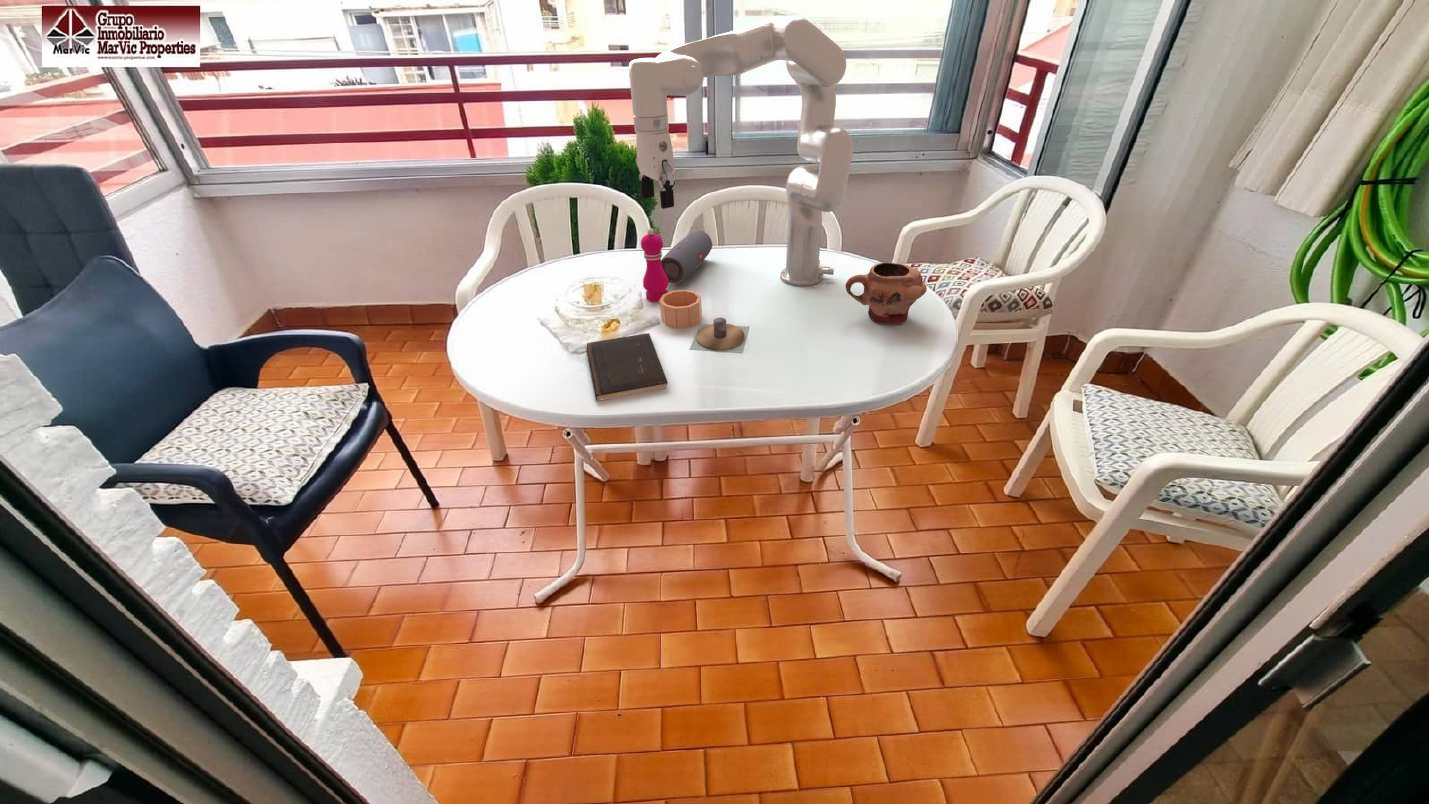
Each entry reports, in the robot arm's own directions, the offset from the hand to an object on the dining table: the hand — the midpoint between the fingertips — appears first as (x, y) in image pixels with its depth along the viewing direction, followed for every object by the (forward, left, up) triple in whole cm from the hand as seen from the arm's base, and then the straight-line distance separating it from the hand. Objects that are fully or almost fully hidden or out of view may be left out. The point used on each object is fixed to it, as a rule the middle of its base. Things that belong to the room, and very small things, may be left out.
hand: (657, 202), depth 137 cm
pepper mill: (+6, -11, -31) cm, 34 cm away
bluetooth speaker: (+1, -29, -31) cm, 43 cm away
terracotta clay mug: (-56, -6, -31) cm, 64 cm away
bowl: (-4, +1, -31) cm, 31 cm away
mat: (-16, +10, -31) cm, 36 cm away
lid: (-16, +10, -30) cm, 36 cm away
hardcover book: (+4, +26, -32) cm, 41 cm away
